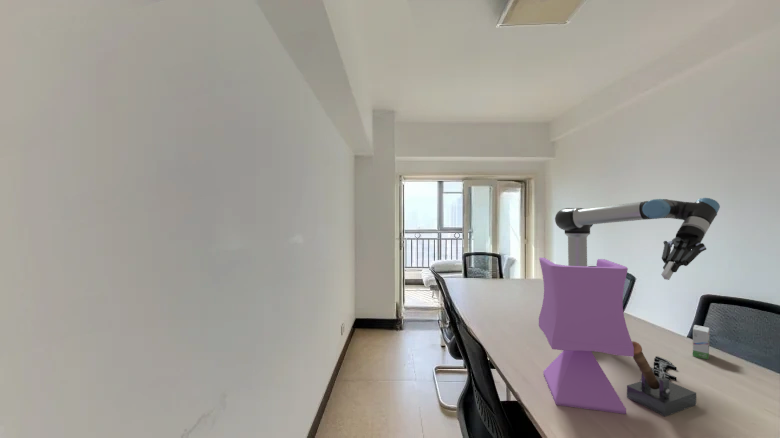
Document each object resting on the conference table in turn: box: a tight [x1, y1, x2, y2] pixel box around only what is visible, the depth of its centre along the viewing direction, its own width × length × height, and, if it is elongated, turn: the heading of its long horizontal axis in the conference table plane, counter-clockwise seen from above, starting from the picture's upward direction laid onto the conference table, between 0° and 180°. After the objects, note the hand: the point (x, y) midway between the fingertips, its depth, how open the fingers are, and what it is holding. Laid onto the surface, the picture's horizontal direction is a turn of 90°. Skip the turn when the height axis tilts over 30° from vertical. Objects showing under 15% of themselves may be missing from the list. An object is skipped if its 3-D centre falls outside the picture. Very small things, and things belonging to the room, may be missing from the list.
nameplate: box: [651, 355, 678, 382], centre depth 124 cm, size 27×2×10 cm
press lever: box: [631, 340, 660, 389], centre depth 102 cm, size 4×4×19 cm
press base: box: [626, 373, 697, 417], centre depth 105 cm, size 11×16×9 cm
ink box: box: [692, 324, 710, 360], centre depth 139 cm, size 8×5×12 cm, turn 133°
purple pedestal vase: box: [538, 257, 634, 415], centre depth 110 cm, size 22×22×45 cm
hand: (665, 277), depth 118 cm, fingers closed
